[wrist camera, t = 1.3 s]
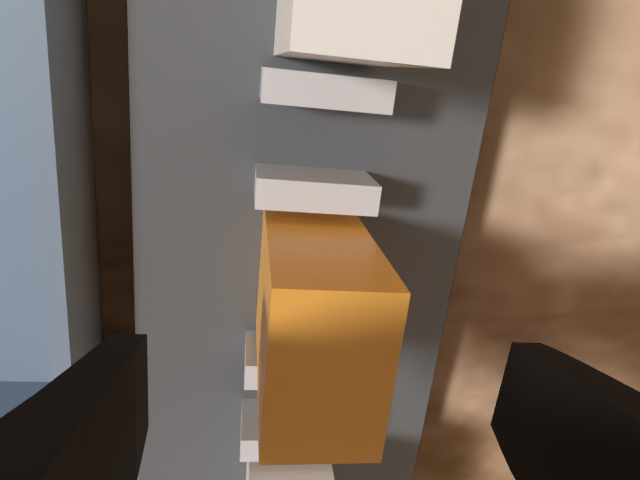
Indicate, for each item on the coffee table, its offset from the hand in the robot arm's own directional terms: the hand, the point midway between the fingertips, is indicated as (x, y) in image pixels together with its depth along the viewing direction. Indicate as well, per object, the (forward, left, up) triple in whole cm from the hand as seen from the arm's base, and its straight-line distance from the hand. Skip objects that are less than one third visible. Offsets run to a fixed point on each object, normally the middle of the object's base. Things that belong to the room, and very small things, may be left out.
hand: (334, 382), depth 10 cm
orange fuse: (0, 0, -6) cm, 6 cm away
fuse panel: (0, 0, -8) cm, 8 cm away
